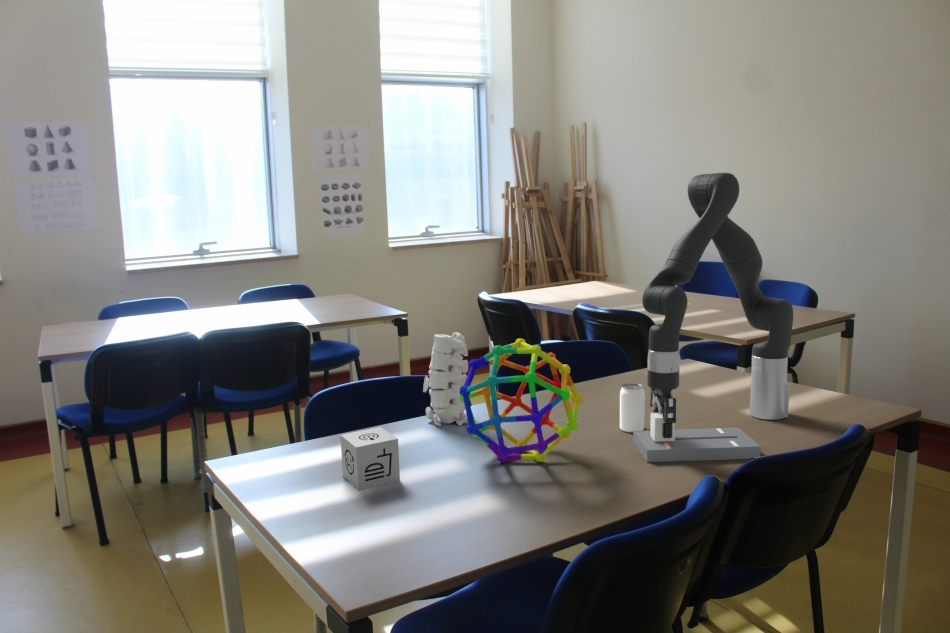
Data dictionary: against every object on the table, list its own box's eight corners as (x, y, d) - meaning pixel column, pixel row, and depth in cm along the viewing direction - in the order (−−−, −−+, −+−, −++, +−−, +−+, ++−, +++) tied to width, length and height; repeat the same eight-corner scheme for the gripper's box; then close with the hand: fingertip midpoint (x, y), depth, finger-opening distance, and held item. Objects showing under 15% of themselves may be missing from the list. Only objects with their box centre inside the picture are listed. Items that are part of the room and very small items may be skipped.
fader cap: (670, 435, 181) (670, 412, 180) (675, 441, 177) (675, 417, 176) (650, 436, 181) (650, 412, 180) (654, 441, 177) (654, 418, 176)
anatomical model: (478, 422, 205) (475, 335, 201) (438, 430, 200) (435, 340, 195) (461, 412, 215) (459, 329, 210) (423, 419, 209) (419, 334, 205)
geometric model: (609, 353, 181) (498, 315, 189) (587, 378, 153) (458, 331, 161) (573, 462, 187) (467, 420, 195) (546, 504, 159) (424, 453, 168)
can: (644, 433, 192) (645, 389, 190) (619, 432, 194) (619, 389, 191) (643, 425, 198) (644, 383, 196) (619, 424, 200) (620, 382, 198)
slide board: (738, 438, 186) (738, 427, 186) (760, 458, 173) (760, 446, 172) (633, 442, 186) (633, 430, 186) (646, 462, 172) (647, 449, 172)
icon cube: (400, 480, 166) (398, 438, 164) (358, 490, 161) (355, 447, 159) (382, 466, 174) (380, 426, 172) (343, 475, 169) (340, 434, 168)
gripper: (688, 374, 169) (686, 441, 171) (670, 360, 183) (669, 422, 186) (655, 375, 169) (654, 442, 171) (640, 361, 183) (640, 423, 185)
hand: (662, 432), depth 178 cm, fingers open, 8 cm apart
